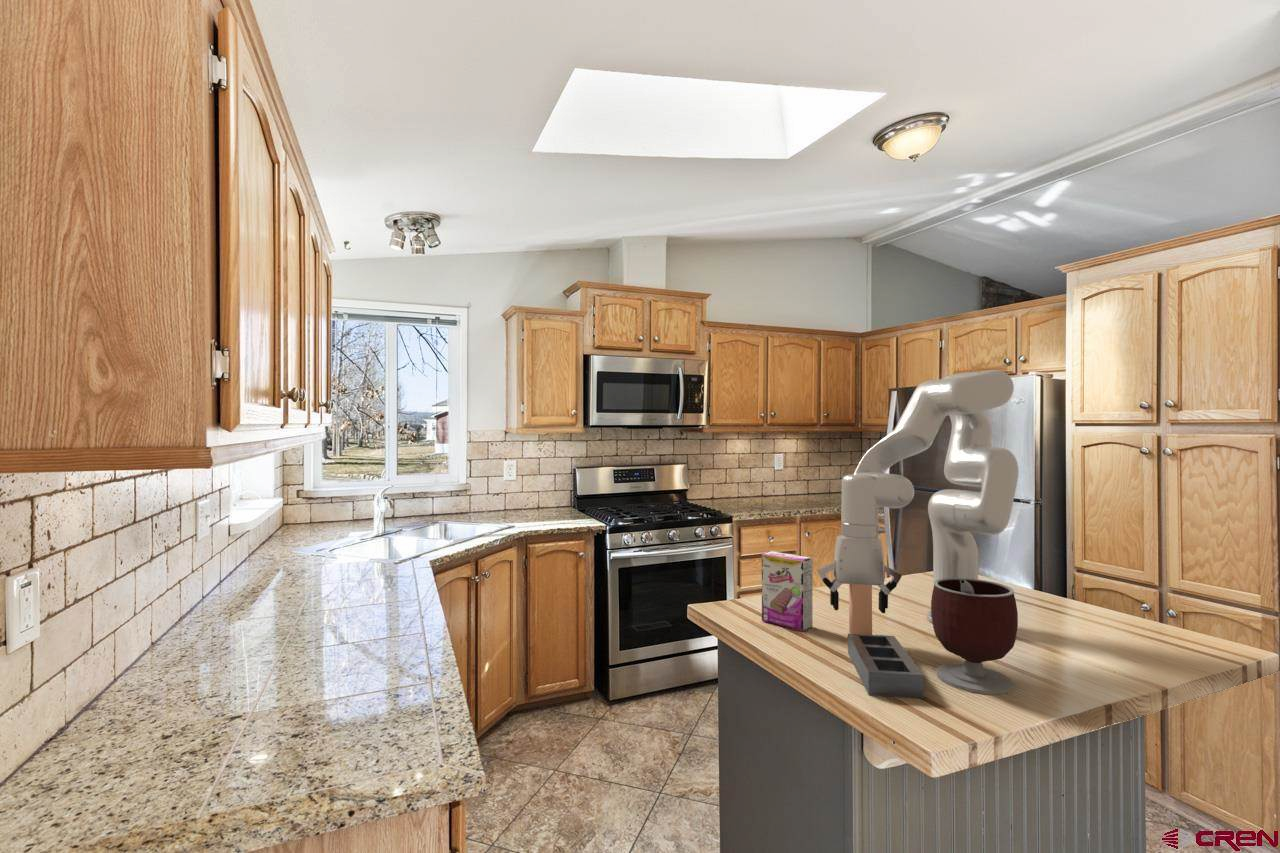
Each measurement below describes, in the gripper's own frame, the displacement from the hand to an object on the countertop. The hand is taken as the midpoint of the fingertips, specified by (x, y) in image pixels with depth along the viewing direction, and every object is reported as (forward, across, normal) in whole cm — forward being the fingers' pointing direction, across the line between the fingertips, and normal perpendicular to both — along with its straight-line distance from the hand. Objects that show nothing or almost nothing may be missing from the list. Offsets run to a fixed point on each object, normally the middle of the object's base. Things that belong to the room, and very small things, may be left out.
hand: (858, 610), depth 130 cm
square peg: (+7, 0, 0) cm, 7 cm away
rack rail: (+7, -1, +18) cm, 19 cm away
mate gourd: (+7, -16, +19) cm, 26 cm away
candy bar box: (+7, +14, -9) cm, 19 cm away
